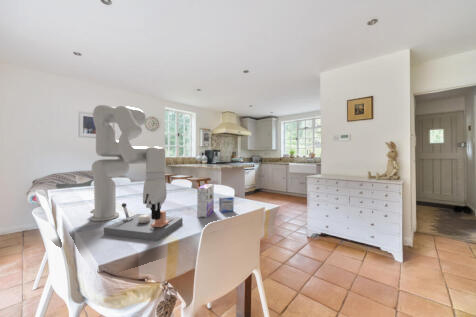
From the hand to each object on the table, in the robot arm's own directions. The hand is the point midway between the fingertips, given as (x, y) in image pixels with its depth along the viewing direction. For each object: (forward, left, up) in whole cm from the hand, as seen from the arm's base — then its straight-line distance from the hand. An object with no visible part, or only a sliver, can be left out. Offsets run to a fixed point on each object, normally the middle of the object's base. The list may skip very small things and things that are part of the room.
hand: (155, 218), depth 83 cm
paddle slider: (0, +3, -3) cm, 5 cm away
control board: (-9, +5, -7) cm, 13 cm away
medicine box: (+19, +41, -7) cm, 46 cm away
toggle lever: (-19, +5, -3) cm, 20 cm away
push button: (-10, +5, -4) cm, 12 cm away
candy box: (+9, +33, -7) cm, 35 cm away
